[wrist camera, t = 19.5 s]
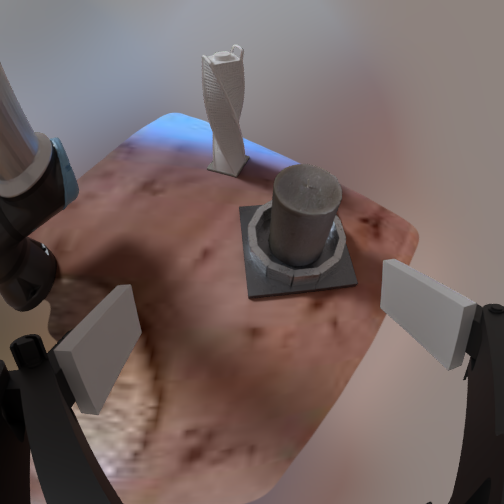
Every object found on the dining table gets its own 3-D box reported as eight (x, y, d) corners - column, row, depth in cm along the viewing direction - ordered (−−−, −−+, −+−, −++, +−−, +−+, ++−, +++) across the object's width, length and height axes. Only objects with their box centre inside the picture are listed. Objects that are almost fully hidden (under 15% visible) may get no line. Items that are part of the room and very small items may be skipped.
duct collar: (248, 298, 46) (247, 287, 43) (239, 210, 56) (238, 196, 52) (355, 286, 47) (363, 275, 44) (330, 203, 57) (334, 190, 53)
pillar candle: (257, 236, 51) (258, 173, 38) (299, 211, 54) (311, 148, 41) (293, 277, 47) (307, 221, 34) (335, 247, 50) (359, 188, 37)
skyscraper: (255, 159, 64) (255, 40, 40) (240, 182, 60) (234, 54, 36) (221, 151, 65) (211, 38, 42) (204, 173, 61) (186, 51, 38)
